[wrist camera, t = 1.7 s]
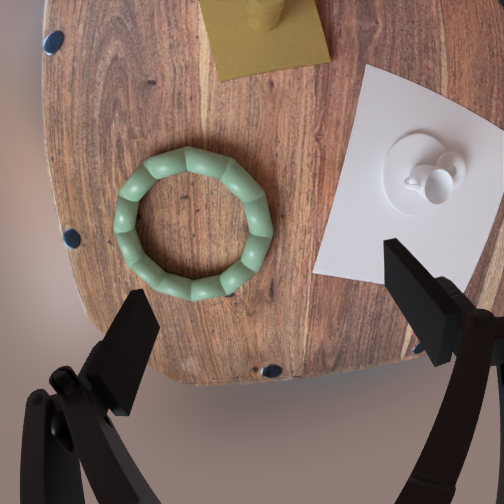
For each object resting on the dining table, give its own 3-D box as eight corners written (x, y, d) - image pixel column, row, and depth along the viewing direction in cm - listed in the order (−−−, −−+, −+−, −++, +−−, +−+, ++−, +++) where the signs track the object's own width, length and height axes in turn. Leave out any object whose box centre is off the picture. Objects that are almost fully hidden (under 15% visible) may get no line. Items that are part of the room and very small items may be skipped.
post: (197, -9, 19) (177, -48, 12) (302, -27, 18) (320, -69, 11) (220, 82, 23) (207, 70, 15) (328, 63, 22) (359, 46, 15)
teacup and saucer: (463, 151, 24) (488, 159, 21) (441, 224, 28) (462, 240, 24) (392, 121, 24) (413, 124, 20) (369, 204, 27) (386, 219, 23)
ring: (100, 173, 26) (90, 178, 24) (250, 129, 24) (250, 131, 23) (149, 302, 32) (144, 313, 30) (283, 277, 30) (285, 288, 28)
